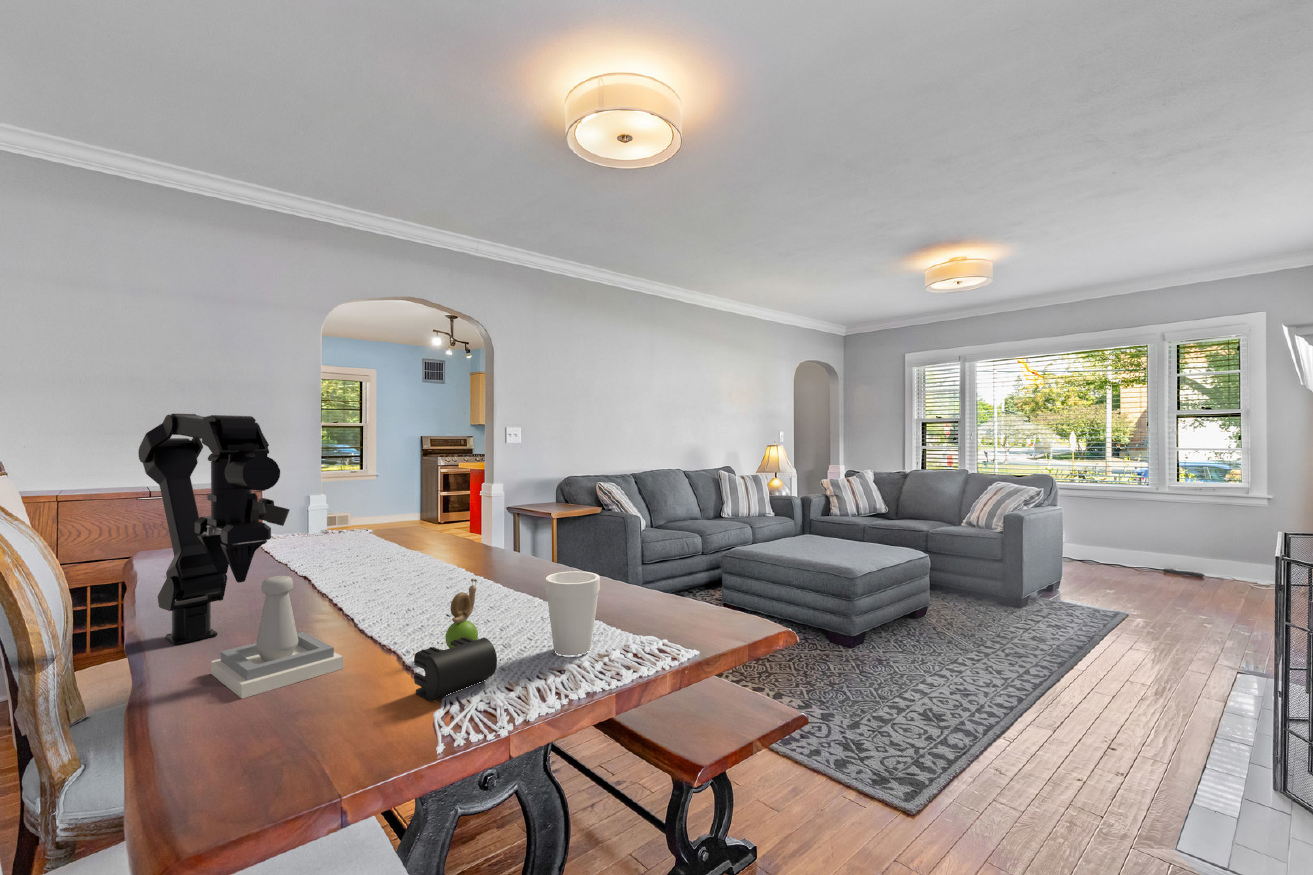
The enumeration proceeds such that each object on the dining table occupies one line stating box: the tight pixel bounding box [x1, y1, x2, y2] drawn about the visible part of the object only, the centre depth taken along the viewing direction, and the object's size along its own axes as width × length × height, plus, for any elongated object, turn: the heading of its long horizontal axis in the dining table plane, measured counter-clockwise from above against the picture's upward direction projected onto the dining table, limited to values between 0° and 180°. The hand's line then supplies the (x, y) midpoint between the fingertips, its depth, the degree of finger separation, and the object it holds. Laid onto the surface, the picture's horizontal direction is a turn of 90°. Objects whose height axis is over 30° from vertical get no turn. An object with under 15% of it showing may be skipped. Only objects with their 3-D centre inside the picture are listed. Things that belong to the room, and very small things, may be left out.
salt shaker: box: [255, 575, 298, 662], centre depth 95 cm, size 6×6×13 cm
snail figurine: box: [444, 578, 479, 649], centre depth 104 cm, size 5×6×12 cm
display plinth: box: [210, 631, 344, 699], centre depth 95 cm, size 14×14×4 cm
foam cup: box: [545, 570, 601, 655], centre depth 104 cm, size 10×9×13 cm
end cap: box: [413, 637, 498, 703], centre depth 88 cm, size 10×7×7 cm
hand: (231, 577), depth 102 cm, fingers open, 9 cm apart
